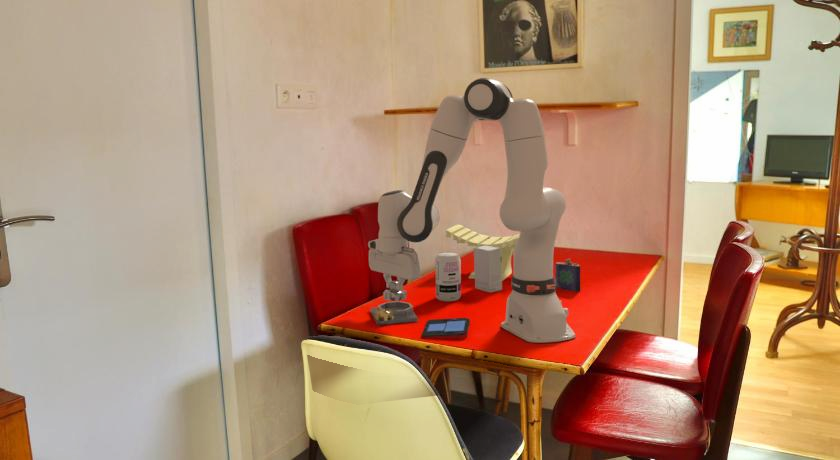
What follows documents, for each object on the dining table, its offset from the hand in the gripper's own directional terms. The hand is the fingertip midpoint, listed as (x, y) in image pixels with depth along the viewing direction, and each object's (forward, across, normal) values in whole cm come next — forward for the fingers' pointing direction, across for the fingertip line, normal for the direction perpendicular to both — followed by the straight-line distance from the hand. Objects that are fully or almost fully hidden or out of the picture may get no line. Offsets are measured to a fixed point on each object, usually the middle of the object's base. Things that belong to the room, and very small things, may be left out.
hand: (394, 289), depth 198 cm
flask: (+8, -22, -59) cm, 63 cm away
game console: (+8, -22, 0) cm, 24 cm away
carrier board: (+8, -1, +2) cm, 8 cm away
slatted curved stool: (+8, +12, -58) cm, 59 cm away
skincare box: (+8, -2, -41) cm, 41 cm away
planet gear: (+3, 0, 0) cm, 3 cm away
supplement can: (+8, 0, -23) cm, 25 cm away
